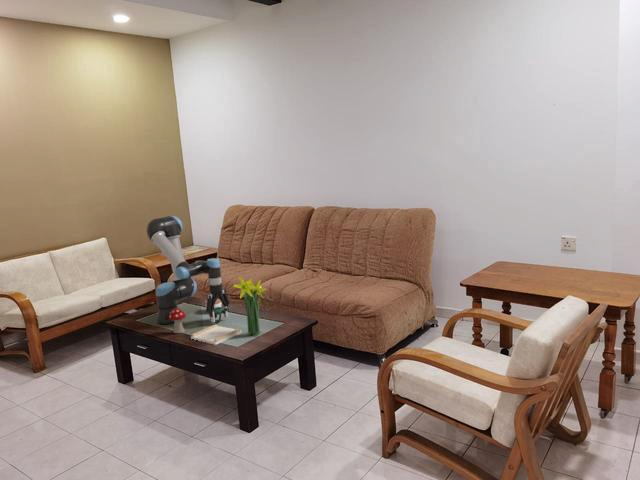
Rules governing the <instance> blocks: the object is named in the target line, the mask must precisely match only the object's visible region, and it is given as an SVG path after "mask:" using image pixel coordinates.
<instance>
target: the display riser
mask: <svg viewBox="0 0 640 480" xmlns="http://www.w3.org/2000/svg"><path fill="white" fill-rule="evenodd" d="M240 334H242V330H241V329H240V328H231V327H225V326H221V325H218V323H214V324H212V325H211V326H207V327H206V328H203V329H201V330H198V331H196V332H194V333H192V334H191V336H190V339H191V340H192V339H194V340H193V341H196V340H198V342H201V341H202V342H201V343H205V342H206V343H205V344H210V345H214V346H216V345H218V344H221V343H223V342H225V341H228V340H229V339H232V338H233V337H236V336H238V335H240Z"/></svg>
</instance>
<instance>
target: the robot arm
mask: <svg viewBox="0 0 640 480" xmlns="http://www.w3.org/2000/svg"><path fill="white" fill-rule="evenodd" d="M183 228H184V227H183V223H182V221H181V219H180V218H179V217H178V216H175V215H169V216H165V217H164V216H163V217H158V218H157V217H156V218H153V219H151V220H150V221H148V224H147V226H146V235H147V237H148V239H149V240H150V241H151V243H152V244H155V245H156V246H157V247H158V249H159V250H160V251H161V253H162V254H163V255H164V257H166V259H167V260H168V261H169V262H170V266H171V270H172V275H173V279H172V281H168V282H163V283H160V284H159V285H157V286H156V288H155V296H156V303H157V313H156V314H157V315H156V323H157V324H161V325H162V324H163V325H164V324H165V325H166V324H174V322H175V321H174V320H170V319H169V314H170V312H171V311H172V310H173V309H176V308H178V302H179V301H183V300H185V299H189V298H191V297H193V296H194V295H195V294H196V293H197V290H198V287H197V282H196V280H195V279H193V278H192V277H195V276H199V275H202V274H207V275H208V284H209V285H208V286H209V291H210V294H207V295H206V300H207V307H206V306H205V310H206V312H208V314H209V317H211V321H210V322H211V323H215V320H216V319H215V317H214V311H213V309H214V305H215V302H216V300H217V299H220V301H221V305H223V306H222V307H223V308H228V307H229V305H230V300H229V298H228V295H227V290H226V289H223V284H222V283H223V281H222V271H221V264H220V259H219V258H214V257H212V258H208V259H207V260H206V261H205V260H196V261H194V262H193V263H190V264H189V262H188V261H187V260H186V259H185V258H184V257H185V256H184V254H183V250H182V249H183V248H182V245H181V240H180V237H181V235H182V234H181V233H182V231H183ZM178 309H179V308H178ZM222 315H223V318H228V317H229V316H228V311H225V314H224V313H222Z"/></svg>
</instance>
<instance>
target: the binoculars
mask: <svg viewBox="0 0 640 480" xmlns="http://www.w3.org/2000/svg"><path fill="white" fill-rule="evenodd" d="M213 311H214V317H215V322H214V324H219V323H220V322H221V318H222V315H224V314H225V311H227V312H229V311H230V309H229V307H227V308H223V306H221V307H216V308H214V309H213ZM223 313H224V314H223ZM218 315H219V317H218ZM209 317H210V316H209ZM217 317H218V320H217V321H216V319H217ZM209 320H210V322H211V317H210V318H209Z"/></svg>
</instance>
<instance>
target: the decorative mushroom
mask: <svg viewBox="0 0 640 480" xmlns="http://www.w3.org/2000/svg"><path fill="white" fill-rule="evenodd" d="M185 318H187V316H186V313H185V312H184V311H183V310H182V308H176V309H173V310H172V311H171V312H170V314H169V319H170V320H174V321H175V322H173V326H174V327H173V330H172V332H173V334H174V333H183V334H185V331H186V330H185V328H184V326H183V322H182V320H184V319H185Z"/></svg>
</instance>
